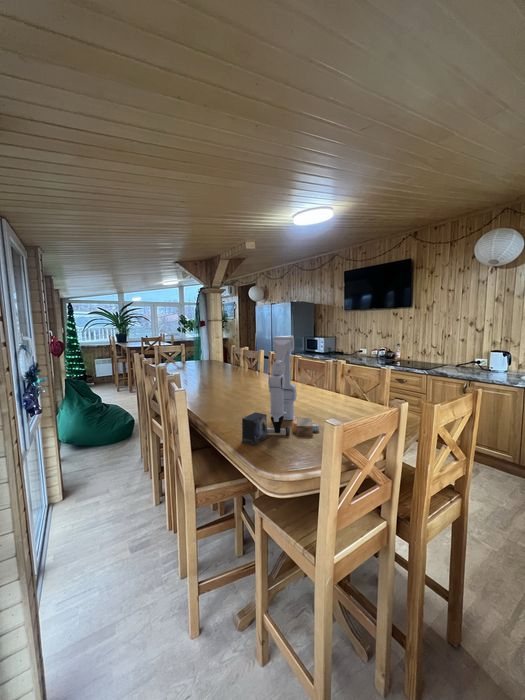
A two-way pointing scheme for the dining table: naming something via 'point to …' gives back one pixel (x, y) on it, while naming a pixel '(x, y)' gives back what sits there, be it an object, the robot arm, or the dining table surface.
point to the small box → (254, 428)
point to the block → (304, 426)
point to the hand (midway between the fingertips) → (277, 432)
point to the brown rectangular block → (315, 426)
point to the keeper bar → (271, 431)
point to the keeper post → (287, 431)
